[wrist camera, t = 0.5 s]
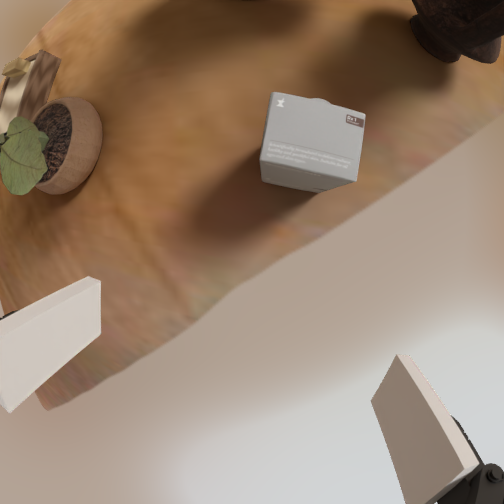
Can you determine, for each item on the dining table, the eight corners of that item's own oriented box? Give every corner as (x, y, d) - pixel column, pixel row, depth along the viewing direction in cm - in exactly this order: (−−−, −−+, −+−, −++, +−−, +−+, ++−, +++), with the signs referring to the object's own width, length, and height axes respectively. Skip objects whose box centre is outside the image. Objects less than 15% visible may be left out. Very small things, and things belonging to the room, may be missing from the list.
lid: (15, 70, 29) (1, 66, 24) (39, 60, 28) (24, 53, 24) (-7, 152, 33) (-23, 151, 28) (13, 150, 32) (-5, 149, 28)
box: (30, 70, 34) (11, 64, 27) (61, 59, 33) (41, 49, 27) (6, 158, 39) (-15, 157, 32) (34, 157, 38) (9, 155, 31)
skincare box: (261, 182, 36) (250, 169, 20) (271, 132, 34) (266, 86, 19) (323, 195, 35) (356, 192, 20) (332, 145, 34) (368, 109, 18)
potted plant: (33, 166, 38) (-87, 169, 9) (77, 88, 35) (-44, 44, 5) (90, 238, 40) (-64, 288, 10) (148, 149, 36) (-32, 102, 7)
